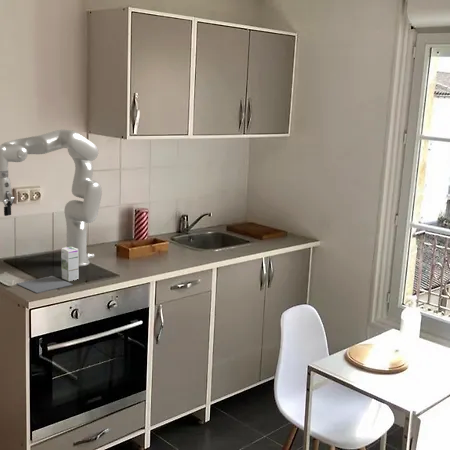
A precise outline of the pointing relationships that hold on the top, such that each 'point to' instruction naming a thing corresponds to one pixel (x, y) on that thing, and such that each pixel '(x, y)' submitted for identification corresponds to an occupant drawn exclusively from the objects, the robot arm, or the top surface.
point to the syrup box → (69, 263)
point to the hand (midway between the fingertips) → (0, 213)
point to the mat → (44, 284)
